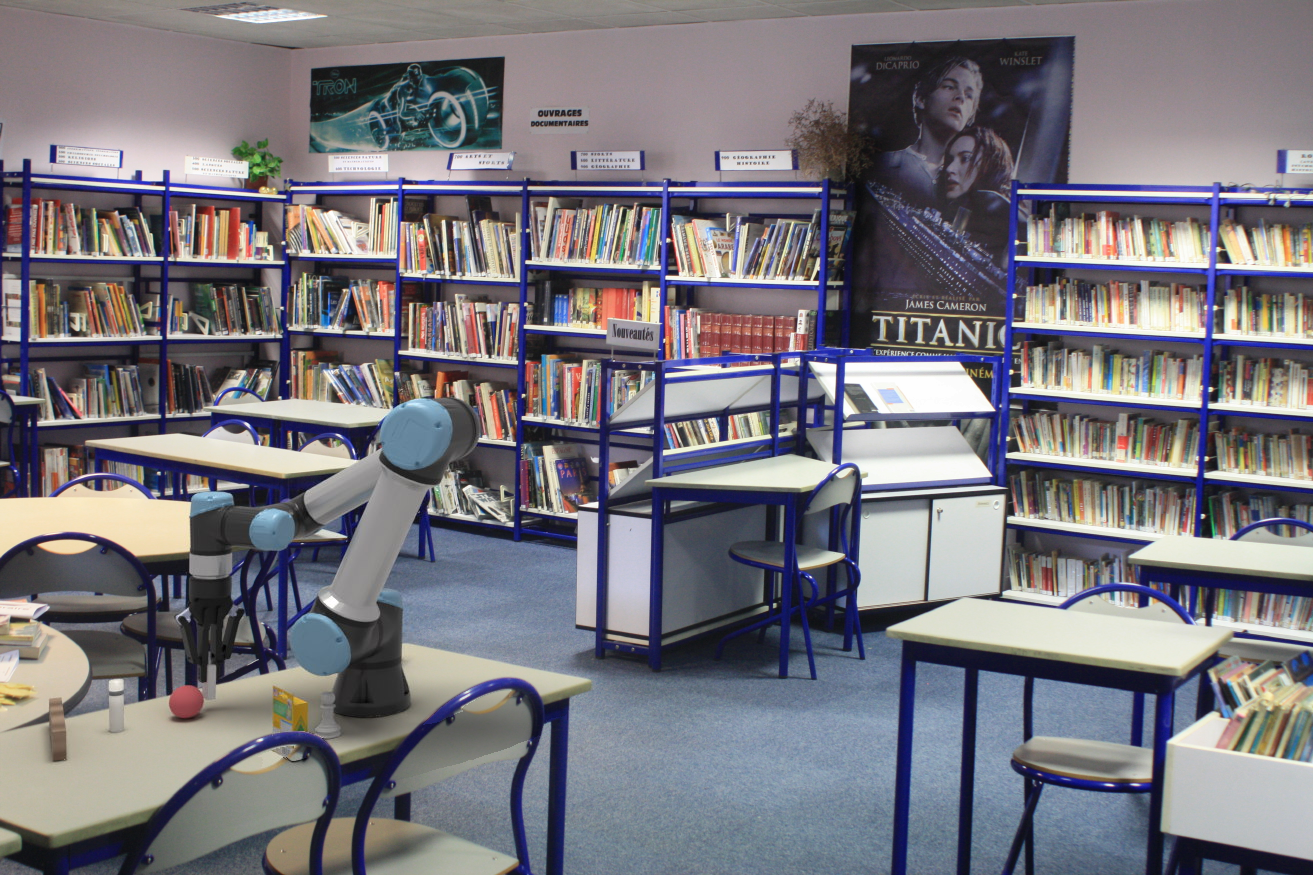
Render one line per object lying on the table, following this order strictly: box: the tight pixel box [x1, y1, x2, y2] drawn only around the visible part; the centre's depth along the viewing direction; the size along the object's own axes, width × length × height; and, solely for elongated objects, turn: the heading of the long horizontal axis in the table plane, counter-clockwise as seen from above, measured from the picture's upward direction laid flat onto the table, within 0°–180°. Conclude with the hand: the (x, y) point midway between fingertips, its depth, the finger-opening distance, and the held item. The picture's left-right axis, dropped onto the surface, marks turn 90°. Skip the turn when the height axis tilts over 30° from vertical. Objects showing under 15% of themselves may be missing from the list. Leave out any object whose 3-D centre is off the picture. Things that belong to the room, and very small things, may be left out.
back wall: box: [48, 697, 67, 762], centre depth 211 cm, size 20×2×5 cm, turn 28°
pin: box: [108, 678, 125, 733], centre depth 218 cm, size 2×2×9 cm
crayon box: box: [271, 685, 309, 759], centre depth 208 cm, size 7×3×12 cm, turn 44°
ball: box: [168, 684, 205, 719], centre depth 226 cm, size 6×6×6 cm
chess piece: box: [314, 691, 342, 740], centre depth 218 cm, size 5×5×8 cm
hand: (208, 697), depth 231 cm, fingers closed
